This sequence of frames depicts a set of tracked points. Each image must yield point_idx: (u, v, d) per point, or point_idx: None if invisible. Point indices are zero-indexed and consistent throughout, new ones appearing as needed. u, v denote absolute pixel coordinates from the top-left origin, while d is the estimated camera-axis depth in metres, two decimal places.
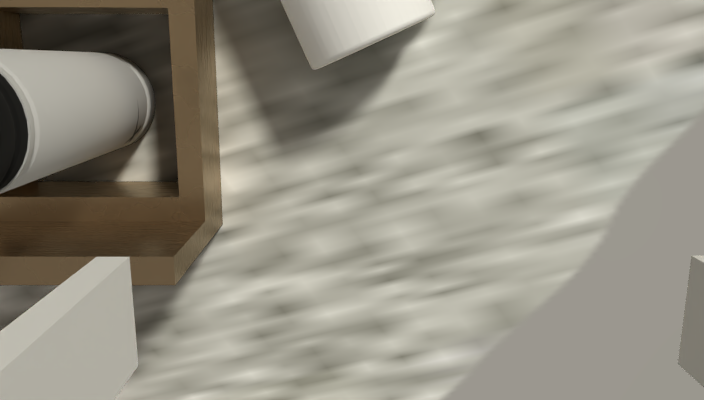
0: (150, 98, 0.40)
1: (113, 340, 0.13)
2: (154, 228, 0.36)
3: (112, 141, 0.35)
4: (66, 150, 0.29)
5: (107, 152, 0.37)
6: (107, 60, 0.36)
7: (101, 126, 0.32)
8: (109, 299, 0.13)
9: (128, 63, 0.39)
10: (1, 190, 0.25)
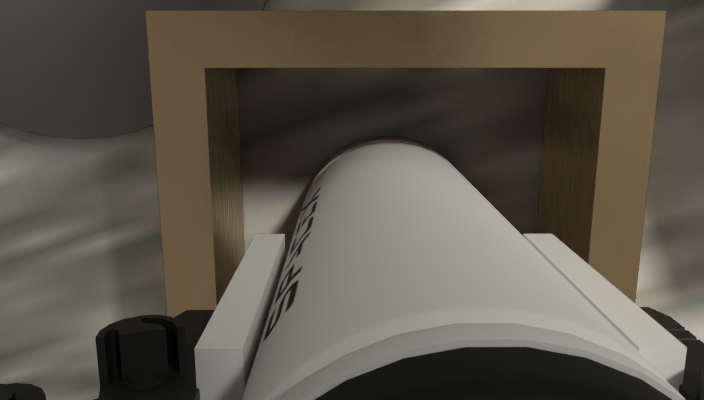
0: None
1: None
2: None
3: None
4: None
5: None
6: (451, 168, 0.18)
7: None
8: (279, 269, 0.15)
9: (445, 159, 0.21)
10: None
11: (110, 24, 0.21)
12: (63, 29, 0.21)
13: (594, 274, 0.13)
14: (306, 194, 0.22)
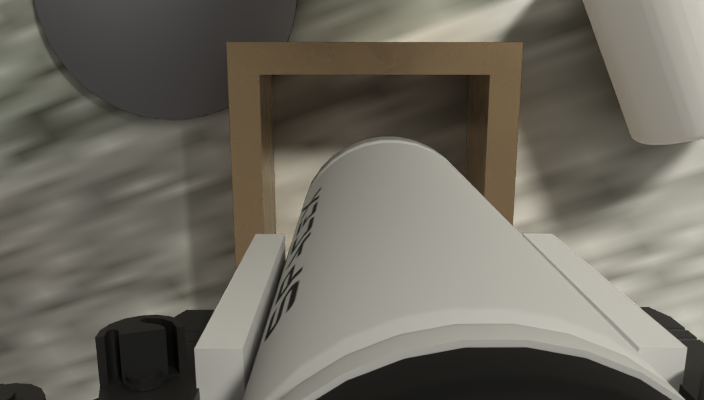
0: None
1: None
2: None
3: None
4: None
5: None
6: (451, 168, 0.18)
7: None
8: (280, 269, 0.15)
9: (445, 159, 0.21)
10: None
11: (193, 47, 0.33)
12: (163, 50, 0.33)
13: (594, 274, 0.13)
14: (307, 194, 0.22)
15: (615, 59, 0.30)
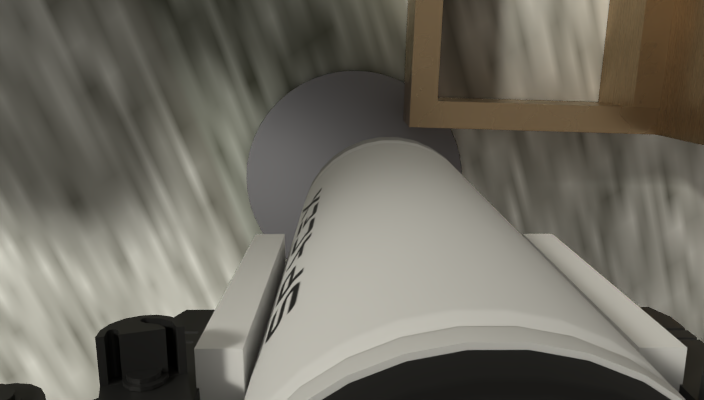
0: None
1: None
2: None
3: None
4: None
5: None
6: (452, 169, 0.18)
7: None
8: (280, 269, 0.15)
9: (446, 160, 0.21)
10: None
11: None
12: None
13: (594, 274, 0.13)
14: None
15: None
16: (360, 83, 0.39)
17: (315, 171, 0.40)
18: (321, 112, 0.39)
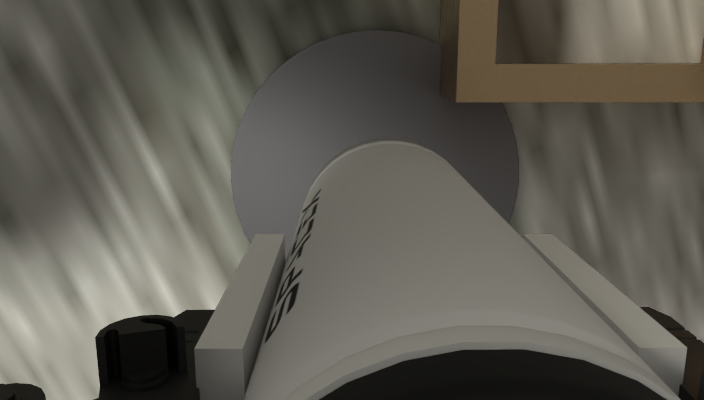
0: None
1: None
2: None
3: None
4: None
5: None
6: (451, 169, 0.18)
7: None
8: (279, 269, 0.15)
9: (445, 160, 0.21)
10: None
11: (439, 151, 0.30)
12: None
13: (594, 274, 0.13)
14: (306, 196, 0.22)
15: None
16: (380, 47, 0.29)
17: None
18: (329, 88, 0.29)
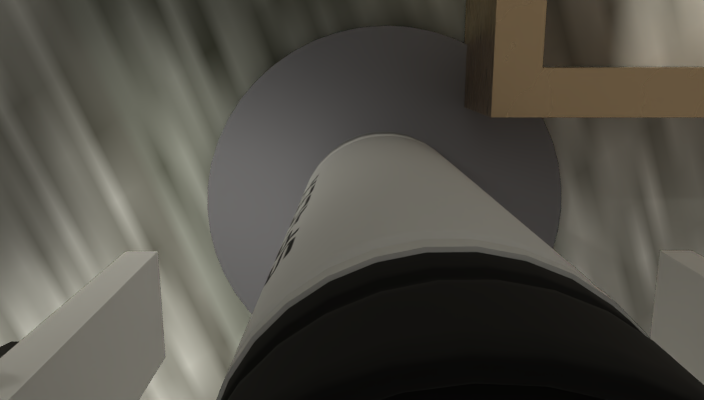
0: None
1: (144, 332, 0.13)
2: None
3: None
4: None
5: None
6: (440, 156, 0.20)
7: None
8: (141, 292, 0.13)
9: (436, 152, 0.22)
10: None
11: None
12: None
13: None
14: None
15: None
16: (391, 47, 0.23)
17: None
18: (327, 98, 0.23)
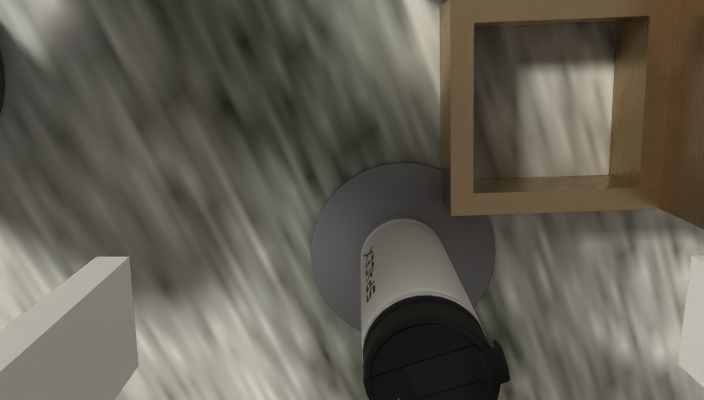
0: None
1: (113, 340, 0.13)
2: (685, 31, 0.37)
3: None
4: None
5: None
6: (428, 234, 0.42)
7: None
8: (109, 299, 0.13)
9: (428, 227, 0.45)
10: None
11: (443, 236, 0.46)
12: None
13: None
14: (363, 246, 0.46)
15: None
16: (403, 173, 0.45)
17: None
18: (371, 199, 0.46)
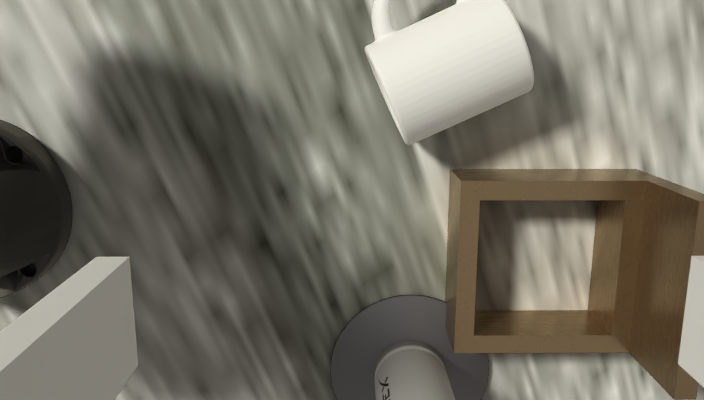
0: None
1: (113, 340, 0.13)
2: (654, 219, 0.45)
3: None
4: None
5: None
6: (435, 366, 0.50)
7: None
8: (109, 299, 0.13)
9: (433, 352, 0.53)
10: None
11: (445, 357, 0.54)
12: None
13: None
14: (376, 365, 0.53)
15: (472, 116, 0.46)
16: (413, 305, 0.53)
17: None
18: (385, 325, 0.53)
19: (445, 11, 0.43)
